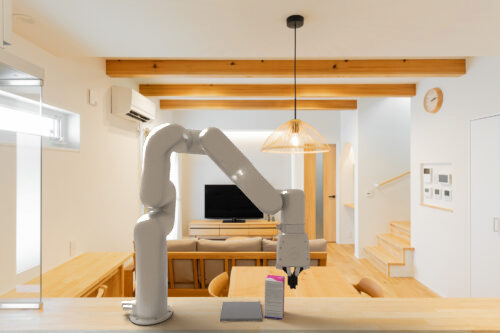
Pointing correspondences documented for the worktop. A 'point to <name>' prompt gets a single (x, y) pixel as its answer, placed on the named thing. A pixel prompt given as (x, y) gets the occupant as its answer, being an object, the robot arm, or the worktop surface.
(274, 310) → the supplement box
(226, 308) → the felt pad
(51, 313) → the worktop surface
